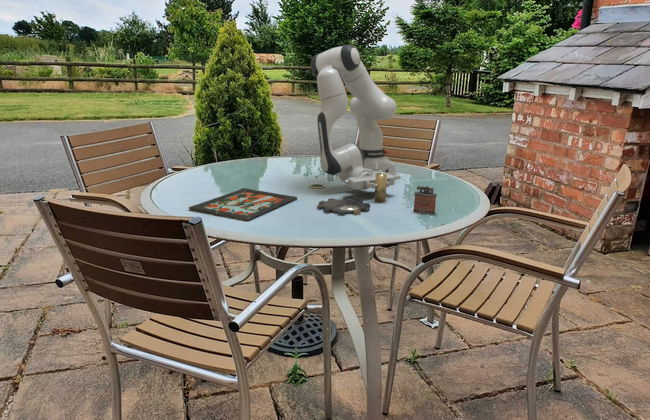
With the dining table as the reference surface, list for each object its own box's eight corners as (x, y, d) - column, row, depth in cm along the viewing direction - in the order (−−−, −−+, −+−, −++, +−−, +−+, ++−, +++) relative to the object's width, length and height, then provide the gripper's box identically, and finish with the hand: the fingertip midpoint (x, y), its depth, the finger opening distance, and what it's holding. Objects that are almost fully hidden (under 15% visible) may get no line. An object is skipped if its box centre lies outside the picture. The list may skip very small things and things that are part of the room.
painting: (299, 201, 196) (299, 196, 195) (249, 225, 166) (249, 218, 165) (242, 191, 207) (242, 186, 206) (186, 212, 177) (185, 205, 176)
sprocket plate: (352, 198, 197) (352, 195, 196) (380, 211, 180) (380, 208, 180) (308, 204, 188) (308, 201, 187) (333, 218, 171) (334, 214, 171)
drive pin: (381, 199, 197) (382, 172, 194) (387, 201, 193) (389, 174, 190) (372, 200, 195) (373, 173, 192) (378, 203, 191) (379, 175, 188)
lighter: (435, 212, 180) (437, 186, 177) (434, 214, 177) (436, 188, 174) (413, 210, 183) (415, 184, 180) (412, 212, 179) (414, 186, 177)
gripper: (341, 173, 197) (360, 180, 186) (383, 169, 207) (403, 175, 195) (341, 188, 199) (359, 196, 187) (382, 183, 208) (402, 190, 197)
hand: (382, 185), depth 191 cm, fingers closed on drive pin, 4 cm apart
